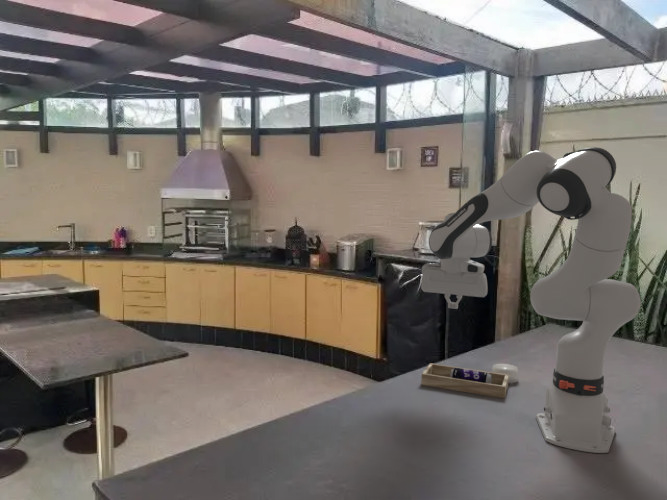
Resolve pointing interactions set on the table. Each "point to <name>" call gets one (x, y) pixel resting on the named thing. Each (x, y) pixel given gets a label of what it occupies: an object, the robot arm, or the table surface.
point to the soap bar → (507, 371)
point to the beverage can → (471, 375)
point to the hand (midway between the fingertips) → (452, 308)
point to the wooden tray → (464, 381)
